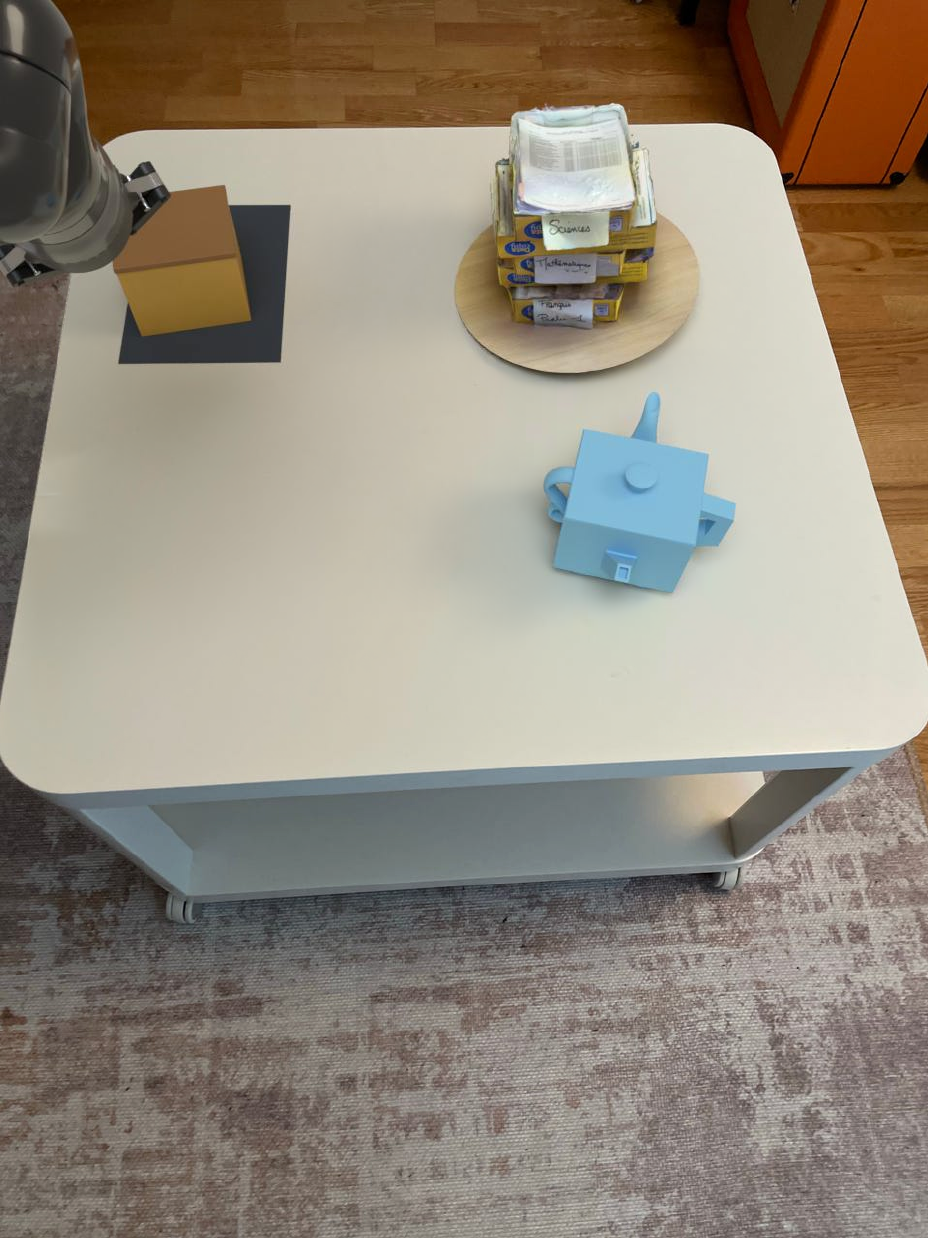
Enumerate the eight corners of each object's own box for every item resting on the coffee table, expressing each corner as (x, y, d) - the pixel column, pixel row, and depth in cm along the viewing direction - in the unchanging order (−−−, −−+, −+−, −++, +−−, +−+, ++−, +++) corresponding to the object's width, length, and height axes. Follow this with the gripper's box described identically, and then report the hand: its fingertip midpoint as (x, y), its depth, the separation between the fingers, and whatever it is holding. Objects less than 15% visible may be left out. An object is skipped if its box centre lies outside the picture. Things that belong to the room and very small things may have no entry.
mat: (118, 364, 93) (117, 363, 93) (143, 206, 102) (143, 205, 102) (280, 363, 94) (280, 362, 93) (290, 205, 103) (290, 204, 103)
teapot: (517, 606, 82) (528, 541, 72) (555, 443, 90) (570, 363, 80) (695, 645, 81) (732, 585, 71) (719, 476, 89) (755, 400, 79)
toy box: (252, 321, 96) (235, 252, 87) (141, 338, 94) (113, 269, 86) (242, 256, 99) (224, 184, 91) (134, 271, 98) (107, 199, 90)
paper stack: (425, 352, 94) (423, 216, 79) (490, 186, 105) (499, 39, 90) (665, 411, 92) (710, 283, 77) (708, 235, 102) (755, 92, 87)
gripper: (116, 76, 55) (147, 156, 71) (-86, 190, 53) (-6, 245, 70) (191, 198, 57) (204, 249, 73) (-2, 310, 56) (56, 336, 72)
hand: (101, 247), depth 72 cm, fingers closed
